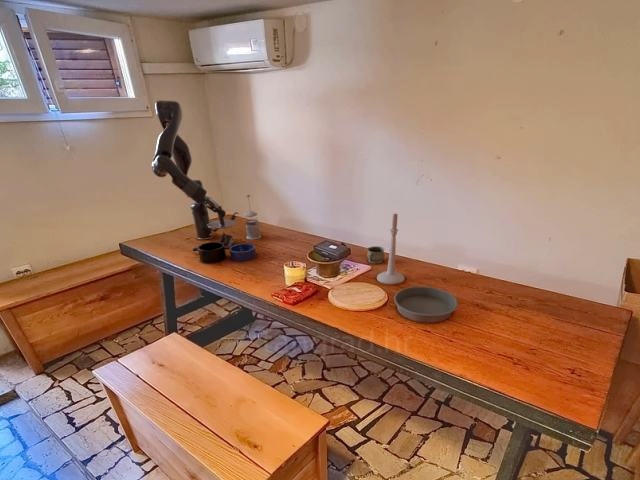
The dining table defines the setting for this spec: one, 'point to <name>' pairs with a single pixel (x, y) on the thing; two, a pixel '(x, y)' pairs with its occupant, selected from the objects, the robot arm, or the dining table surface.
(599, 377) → the dining table surface
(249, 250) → the blue round bowl
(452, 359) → the dining table surface
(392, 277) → the candlestick
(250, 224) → the french press
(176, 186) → the robot arm
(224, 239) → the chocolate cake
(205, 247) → the pot
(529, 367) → the dining table surface
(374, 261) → the vessel
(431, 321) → the cake pan
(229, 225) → the lid
